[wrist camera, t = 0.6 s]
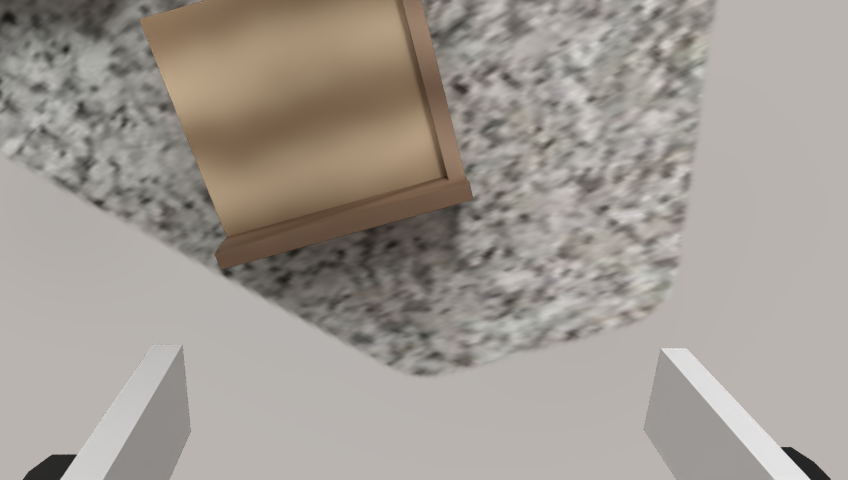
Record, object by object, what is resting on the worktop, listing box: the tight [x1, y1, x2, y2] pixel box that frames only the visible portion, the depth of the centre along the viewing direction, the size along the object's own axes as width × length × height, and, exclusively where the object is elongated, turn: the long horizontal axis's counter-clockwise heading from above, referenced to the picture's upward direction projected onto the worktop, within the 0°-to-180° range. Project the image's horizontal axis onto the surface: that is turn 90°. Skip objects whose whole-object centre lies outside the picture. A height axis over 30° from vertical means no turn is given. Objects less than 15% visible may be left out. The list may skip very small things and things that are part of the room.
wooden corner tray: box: [139, 0, 474, 269], centre depth 35 cm, size 14×15×6 cm
